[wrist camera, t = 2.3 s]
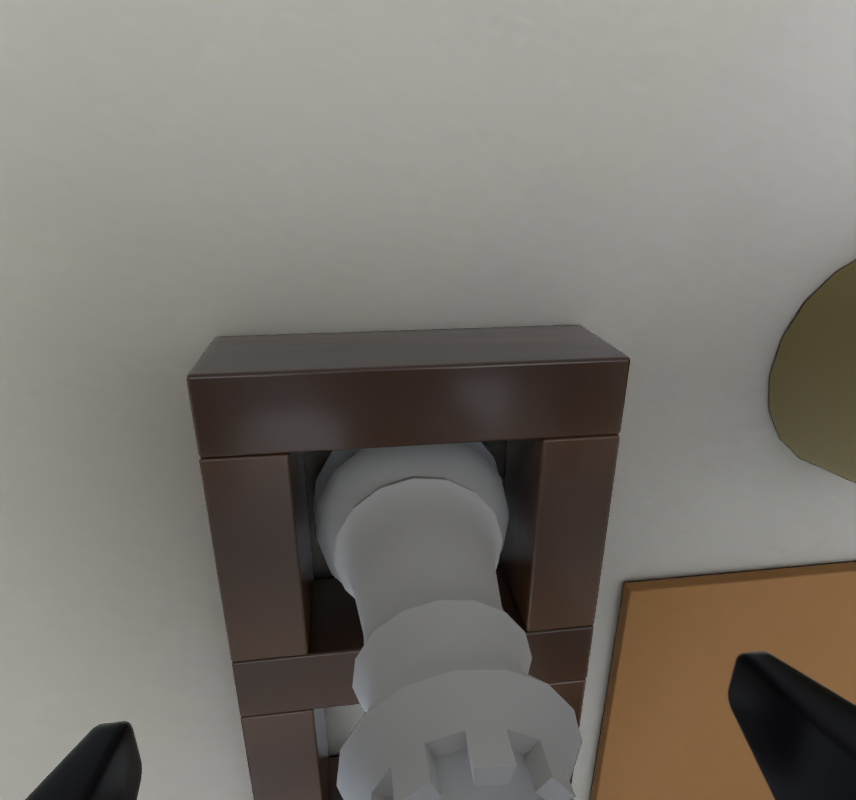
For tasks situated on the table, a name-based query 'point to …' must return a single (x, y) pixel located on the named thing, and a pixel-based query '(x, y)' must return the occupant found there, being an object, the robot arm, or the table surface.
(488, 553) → the rook chess piece
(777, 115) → the table surface
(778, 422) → the pepper shaker
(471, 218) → the table surface
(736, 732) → the cork mat
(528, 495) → the piece rack
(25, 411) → the table surface
